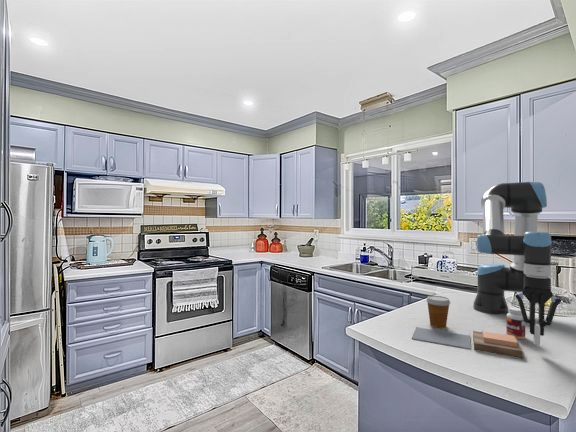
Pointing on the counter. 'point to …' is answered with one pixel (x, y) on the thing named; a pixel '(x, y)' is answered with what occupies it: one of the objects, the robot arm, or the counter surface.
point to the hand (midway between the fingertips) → (536, 343)
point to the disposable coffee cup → (438, 310)
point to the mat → (442, 337)
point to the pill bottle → (515, 323)
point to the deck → (495, 347)
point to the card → (499, 338)
